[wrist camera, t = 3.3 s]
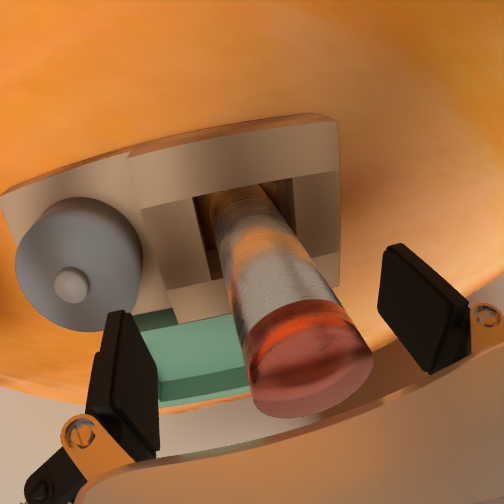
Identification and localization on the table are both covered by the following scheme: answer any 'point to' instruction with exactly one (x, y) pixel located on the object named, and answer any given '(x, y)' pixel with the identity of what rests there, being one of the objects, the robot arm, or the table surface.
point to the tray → (193, 357)
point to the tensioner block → (166, 219)
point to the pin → (284, 311)
